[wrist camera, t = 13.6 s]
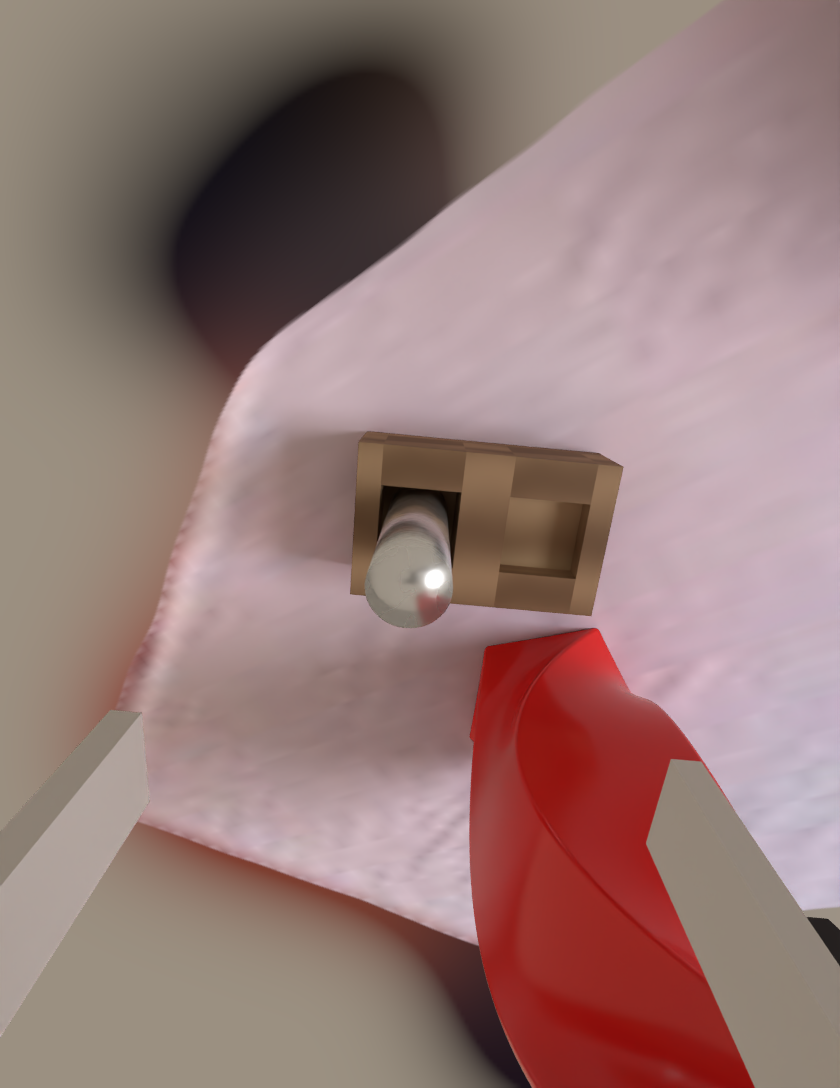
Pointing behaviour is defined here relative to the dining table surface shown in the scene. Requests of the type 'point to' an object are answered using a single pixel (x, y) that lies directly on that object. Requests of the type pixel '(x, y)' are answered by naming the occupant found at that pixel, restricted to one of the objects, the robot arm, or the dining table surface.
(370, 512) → the block
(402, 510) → the pin
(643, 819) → the vase
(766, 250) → the dining table surface
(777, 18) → the dining table surface
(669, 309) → the dining table surface
